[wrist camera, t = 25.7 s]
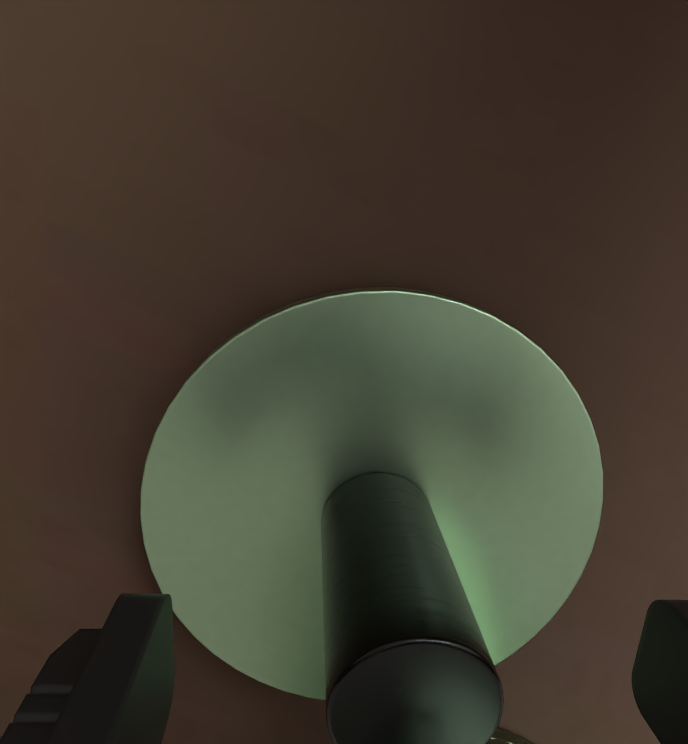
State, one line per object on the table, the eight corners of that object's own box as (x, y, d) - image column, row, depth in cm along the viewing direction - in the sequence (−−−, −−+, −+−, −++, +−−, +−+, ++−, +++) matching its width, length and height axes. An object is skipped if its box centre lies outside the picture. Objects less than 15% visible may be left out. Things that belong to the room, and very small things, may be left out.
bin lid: (90, 339, 13) (-115, 461, 7) (563, 236, 13) (797, 263, 7) (221, 704, 17) (164, 1011, 10) (596, 623, 16) (773, 883, 10)
